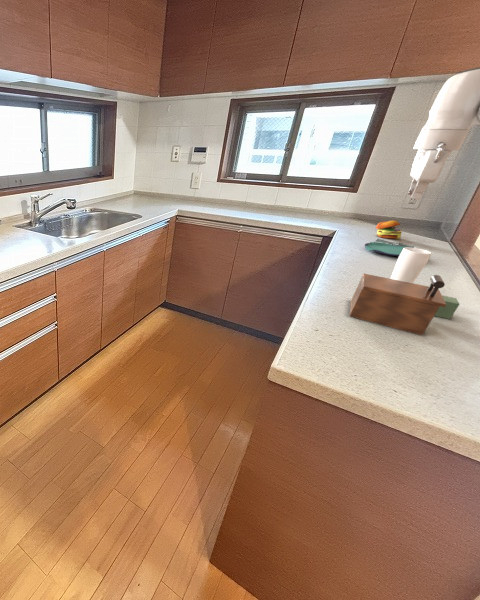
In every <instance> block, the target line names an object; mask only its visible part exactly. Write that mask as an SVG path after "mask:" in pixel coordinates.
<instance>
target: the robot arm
mask: <svg viewBox="0 0 480 600" xmlns="http://www.w3.org/2000/svg"><path fill="white" fill-rule="evenodd" d="M474 126H480V66H479V67H478V66H477V67H473V68H469V69H465V70H463V71H460V72H457V73H455V74H453V75H452V76H451V77H449V78H447V80H446V81H445V82H444V84H442V86H441V88H440V90H439V92H438V93H437V95H436V97H435V99H434V101H433V103H432V105H431V108H430V110H429V114H428V119H427V121H426V122H425V124H424V125H423V127H422V128H421V130H420V133H419V135H418V137H417V138H416V141H415V144H414V146H413V148H412V149H413V150H417V153H416V155H415V157H414V160H413V163H412V167H411V170H410V174H409V175H410V177H411V178H412V180H411V183H410V187H409V190H408V191H407V195H408V196H410V198H411V199H412V200H421V198H422V196H423V194H424V192H425V191H426V189H427V188H428V186H429V184H434V183H436V182H437V180H438V178H439V177H440V175H441V173H442V170H443V168H444V166H445V164H446V162H447V160H448V158H449V157H450V156H451V154H452V152H453V151H460V150H461V148H462V145H463V144H464V141H465V140H466V138H467V136H468V134H469V131H470V130H471V128H472V127H474Z"/></svg>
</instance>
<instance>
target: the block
mask: <svg viewBox="0 0 480 600" xmlns="http://www.w3.org/2000/svg"><path fill="white" fill-rule="evenodd" d="M441 295H442V297H443V299H444V301H445V303H446V306H445V307H442V306H440V307H439V308H438V310H437V312H436V313H435V315H434V317H439V318H443V319H448V320H451V319H452V317H453V316H454V314H455V312H456V311H457V309H458V307H459V306H460V302H459V300H458V299H457V298H456V297H452V296H447V295H444V294H441Z"/></svg>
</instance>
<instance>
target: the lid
mask: <svg viewBox="0 0 480 600" xmlns="http://www.w3.org/2000/svg"><path fill="white" fill-rule="evenodd" d="M362 276H363V278H362V277H361V278H362V289H366V290H370V291H375V292H379V293H384V294H388V295H393V296H397V297H401V298H406V299H410V300H415V301H419V302H424V303H428V304H433V305H437V306H442V307H445V306H446V303H445V301H444V299H443V297H442V295H443V294H442V293H441V291H440V289H443V288H444V287H445V286H446V285H445V284H446V283H445V282H444V280H443V278H442V277H441V276H440V275H438V274H434V275H431V277H430V278H429V280H430V282H431V283H430V284H429V285H423V284H418V283H409V282H404V281H399V280H394V279H390V278H389V277H384V276H378V275H373V274H368V273H363V274H362Z"/></svg>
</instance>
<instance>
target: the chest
mask: <svg viewBox="0 0 480 600" xmlns="http://www.w3.org/2000/svg"><path fill="white" fill-rule="evenodd" d="M362 278H363V275H362V276H361V278H360V280H359V282H358V284H357V286H356V288H355V291H354V293H353V295H352V297H351V299H350V306H349V317H350V318H354V319H358V320H363V321H366V322H370V323H374V324H377V325H382V326H385V327H389V328H392V329H397V330H400V331H404V332H408V333H412V334H415V335H418V336H423V335H424V333H425V332H426V330H427V328H428V327H429V324H430V323H431V322H432V320H433V319H434V317H435V316H434V315H435V313H436V312H437V310H438V308H439V307H440V306H437V305H433V304H428V303H424V302H419V301H415V300H410V299H406V298H401V297H397V296H393V295H388V294H384V293H379V292H375V291H370V290H366V289H362Z"/></svg>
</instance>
